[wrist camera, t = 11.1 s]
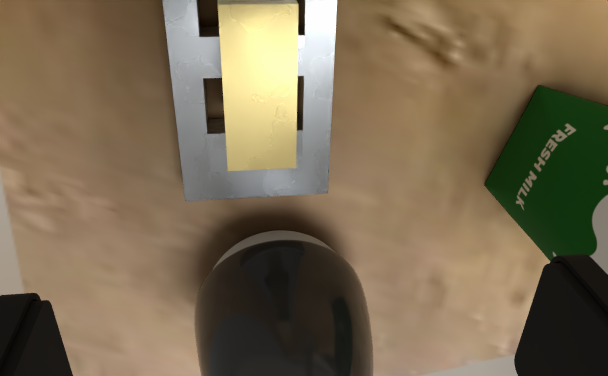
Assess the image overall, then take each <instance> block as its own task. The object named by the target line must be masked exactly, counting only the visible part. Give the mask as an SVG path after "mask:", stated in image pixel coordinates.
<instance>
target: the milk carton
mask: <svg viewBox="0 0 608 376" xmlns="http://www.w3.org/2000/svg"><path fill="white" fill-rule="evenodd" d="M484 186H485V187H486V188H487V189H488V190H489V191H490V192H491V194H492V195H493V196H494V197H495V198H496V199H497V200H498V202H499V203H500V204H501V205H502V206H503V207H504V209H505V210H506V211H507V212H508V213H509V214H510V215H511V217H512V218H513V219H514V220H515V221H516V222H517V224H518V225H519V226H520V227H521V228H522V229H523V230H524V231H525V233H526V234H527V235H528V236H529V237H530V238H531V239H532V240H533V241H534V243H535V244H536V245H537V246H538V247H539V248H540V250H541V251H542V252H543V253H544V254H545V256H546V257H547V258H548V259H549V260H550V261H551V260H552V259H553V258H554V257H555V256H560V255H574V254H586V255H589V256H590V257H591V258H592V259H593V260H594V261H595V262H596V263H597V264H598V265H599V266H600V267H601V268H602V269H603V270H604V271H605V272H606V273H607V274H608V106H606V105H603V104H600V103H596V102H593V101H589V100H586V99H583V98H579V97H576V96H572V95H569V94H566V93H562V92H559V91H555V90H552V89H549V88H546V87H542V86H538V88H537V90H536V92H535V93H534V95H533V97H532V99H531V101H530V102H529V104H528V106H527V108H526V110H525V112H524V113H523V115H522V117H521V119H520V121H519V123H518V124H517V126H516V128H515V130H514V132H513V134H512V135H511V137H510V139H509V141H508V143H507V145H506V146H505V148H504V150H503V152H502V154H501V156H500V157H499V159H498V161H497V163H496V165H495V167H494V168H493V170H492V172H491V174H490V176H489V178H488V179H487V181H486V183H485V185H484Z"/></svg>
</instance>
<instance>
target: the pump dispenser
mask: <svg viewBox="0 0 608 376" xmlns="http://www.w3.org/2000/svg"><path fill="white" fill-rule="evenodd" d="M195 337H196V346H197V353H198V360H199V366H200V372H201V376H373V344H372V334H371V326H370V319H369V313H368V307H367V302H366V298H365V294H364V291H363V288H362V285H361V282H360V280H359V278H358V275H357V274H356V272H355V270H354V269H353V268H352V266H351V265H350V264H349V263H348V262H347V261H346V260H345V259H344V258H343V257H341V256H340V255H339V254H337V253H336V252H335V251H334V250H332V249H331V248H330V247H329V246H327V245H326V244H325V243H323V242H322V241H320V240H318V239H316V238H314V237H312V236H309V235H307V234H303V233H299V232H295V231H286V230H277V231H268V232H263V233H259V234H256V235H253V236H251V237H248V238H246V239H244V240H242V241H241V242H239V243H237V244H236V245H234V246H233V247H232V248H230V249H229V250H228V251H227V252H226V253H225V254H224V255H223V256H222V257H221V258H220V260H219V261H218V262H217V263H216V265H215V266H214V268H213V269H212V271H211V272H210V273H209V275H208V276H207V277H206V279H205V280H204V282H203V284H202V285H201V288H200V290H199V292H198V295H197V299H196V305H195Z"/></svg>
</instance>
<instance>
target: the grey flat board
mask: <svg viewBox="0 0 608 376" xmlns="http://www.w3.org/2000/svg"><path fill="white" fill-rule="evenodd" d="M163 9H164V18H165V27H166V36H167V44H168V53H169V62H170V71H171V80H172V88H173V97H174V106H175V115H176V124H177V132H178V141H179V150H180V159H181V168H182V176H183V185H184V194H185V201H198V200H216V199H234V198H252V197H271V196H289V195H307V194H325V193H328V178H329V157H330V137H331V116H332V95H333V75H334V54H335V33H336V12H337V0H300V25H298V75H297V76H299V99H298V116H297V144H296V168H287V169H265V170H244V171H228V166H227V150H226V133H225V118H219V119H208V111H207V98H206V86H205V78H222V67H221V51H220V35H219V26H209V27H201V23H200V11H199V0H163Z"/></svg>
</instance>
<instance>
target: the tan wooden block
mask: <svg viewBox="0 0 608 376" xmlns="http://www.w3.org/2000/svg"><path fill="white" fill-rule="evenodd" d="M298 6H299V4H298V2H297V1H296V0H218V18H219V35H220V51H221V67H222V84H223V100H224V117H225V133H226V150H227V166H228V171H244V170H265V169H287V168H296V144H297V75H298Z"/></svg>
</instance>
